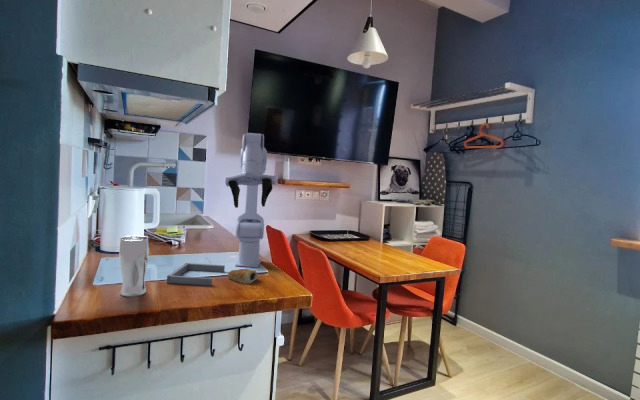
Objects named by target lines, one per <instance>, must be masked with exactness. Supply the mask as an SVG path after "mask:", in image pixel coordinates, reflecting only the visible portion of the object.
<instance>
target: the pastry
mask: <svg viewBox="0 0 640 400" xmlns="http://www.w3.org/2000/svg"><path fill="white" fill-rule="evenodd" d="M227 276H228V279H230V280H231V281H233V282H236V283H239V284H244V285H248V284H252V283H253V282H254V281H257V280H258V277H259V274H258V272H257V271H256V270H255V269H254V270H251V269H249V268H239V269H233V270H230V271H228V272H227Z"/></svg>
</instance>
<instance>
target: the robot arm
mask: <svg viewBox="0 0 640 400" xmlns="http://www.w3.org/2000/svg"><path fill="white" fill-rule="evenodd" d="M241 143H242V145H241V146H242V148H241V149H240V169H241V173H240V174H239V175H233V176H229V177H225V182H224V183H225V185H226V187H229V188H230V190H231V193H232V194H231V195H232V198H233V205H234V208H237V209H238V208H239V196H240V192H241V188H240V186H241V185H242V186H246V194H245V195H246V196H245V210H244V213H242V214H241V215H239V216H238V217H237V219H236V225H235V238H236V239H237V240H238V241H239V242H238V243H239V245H238V261H237V262H236V263H235V265H234V266H236V267H247V268H248V267H249V268H258V267H259V266H260V264H261V262H262V261H263V260H262V259H261V258H260V252H261V251H260V249H261V248H260V247H261V245H260V244H261V243H260V242H261V240H263V239H264V231H265V230H264V229H265V224H264V220H265V219H264V218H263V217H262V216H261V215H260V214H258V213H257V212H258V191H259V185H261V191H262V192H261V199H260V200H261V206H262V207H263V208H264V207H266V202H267V200H268V198H269V196H270V194H271V192H273V191H272V190H273V185H277V178H276V175H268V174H265V173H266V170H267V160H268V151H267V149H266V147H265V135H264V133H254V132H246V133H245V134H244V133H243V135H242V142H241ZM239 185H240V186H239ZM258 265H259V266H258Z"/></svg>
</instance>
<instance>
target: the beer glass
mask: <svg viewBox="0 0 640 400" xmlns="http://www.w3.org/2000/svg"><path fill="white" fill-rule="evenodd" d="M119 239H120V240H119V252H118V253H119V255H118V257H119V258H118V259H119V266H120V271H121V277H122V284H121V289H120V295H121V296H122V297H129V298H132V297H134V298H135V297H140V296H143V295H145V294H146V292H147V288H146V284H145V283H146V282H145V277H146V271H147V267H148V261H149V250H150V249H149V237H148V236H145V235H144V236H143V235H126V236H123V237H121V238H119Z"/></svg>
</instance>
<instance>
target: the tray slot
mask: <svg viewBox="0 0 640 400" xmlns="http://www.w3.org/2000/svg"><path fill="white" fill-rule="evenodd" d="M187 271H199V272H200V271H203V272H214V271H219V272H218V273H224V272H225V265H221V264H207V263H190V262H185V263H184V264H183V265H181V266H179V267H178V268H177V269H175V270H174V271H172V272H171V273H169V274H168V275H167V276H166V283H167V284H180V285H193V286H194V285H196V286H208V287H209V286H212V285H213V278H212V277H200V276H184V275H183V274H184V273H185V272H187Z"/></svg>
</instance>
